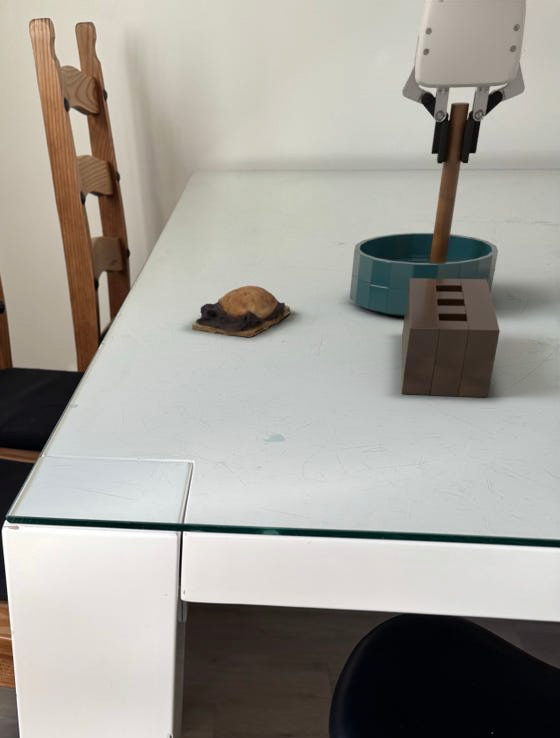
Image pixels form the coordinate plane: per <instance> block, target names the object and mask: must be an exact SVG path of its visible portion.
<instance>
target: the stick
mask: <svg viewBox="0 0 560 738" xmlns="http://www.w3.org/2000/svg"><path fill="white" fill-rule="evenodd" d="M469 110H470V103H469V102H453V103H451V104H450V111H449V118H448V120H449V122H450V128H449V135H448V142H447V149H446V157H445V162H443V163H442V170H441V177H440V183H439V191H438V197H437V205H436V212H435V219H434V226H433V232H432V233H433V240H432V248H431V255H430V262H429V263H446V260H447V253H448V246H449V239H450V234H452V233H451V232H452V225H453V220H454V219H453V218H454V210H455V204H456V197H457V191H458V185H459V184H458V183H459V178H460V171H461V163H462V162H461V155H462V148H463V141H464V134H465V128H466V122H467V118H468V115H469Z"/></svg>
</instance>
